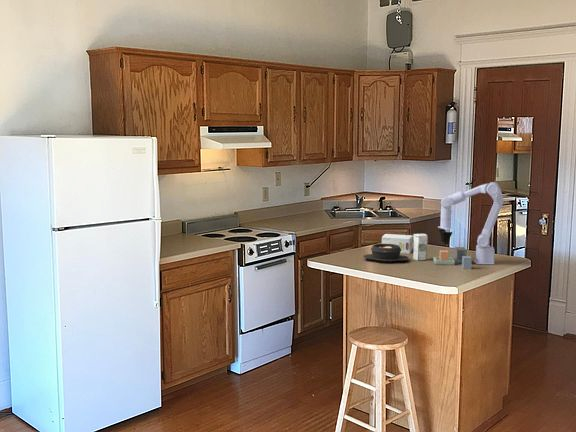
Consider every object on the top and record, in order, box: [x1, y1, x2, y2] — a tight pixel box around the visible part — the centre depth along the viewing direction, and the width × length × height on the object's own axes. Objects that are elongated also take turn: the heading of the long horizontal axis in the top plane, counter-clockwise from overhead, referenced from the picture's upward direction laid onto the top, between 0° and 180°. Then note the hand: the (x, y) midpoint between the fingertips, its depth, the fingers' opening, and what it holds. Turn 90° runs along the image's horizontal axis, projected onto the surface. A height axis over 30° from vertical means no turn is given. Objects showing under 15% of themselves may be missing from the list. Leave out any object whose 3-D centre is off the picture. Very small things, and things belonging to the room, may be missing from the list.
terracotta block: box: [438, 249, 449, 261], centre depth 341 cm, size 4×4×6 cm
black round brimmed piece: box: [362, 243, 409, 263], centre depth 348 cm, size 25×19×8 cm
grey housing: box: [453, 246, 468, 266], centre depth 342 cm, size 7×11×8 cm, turn 174°
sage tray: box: [432, 256, 455, 266], centre depth 341 cm, size 10×10×2 cm
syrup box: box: [412, 233, 428, 262], centre depth 349 cm, size 6×6×14 cm
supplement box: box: [381, 233, 414, 254], centre depth 377 cm, size 17×13×9 cm
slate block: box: [461, 256, 473, 270], centre depth 328 cm, size 4×4×6 cm
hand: (445, 243), depth 346 cm, fingers open, 7 cm apart
